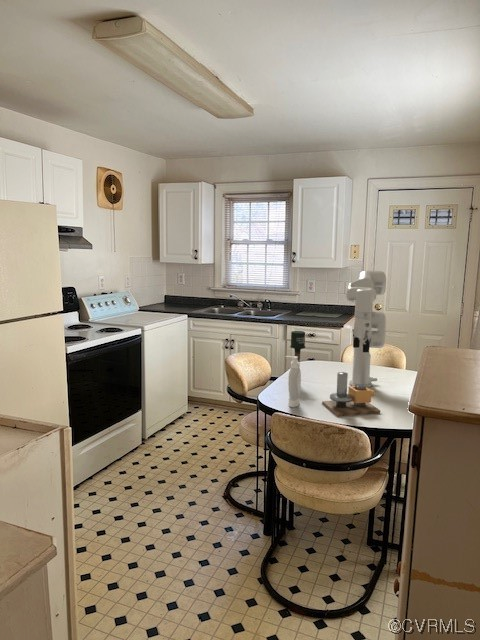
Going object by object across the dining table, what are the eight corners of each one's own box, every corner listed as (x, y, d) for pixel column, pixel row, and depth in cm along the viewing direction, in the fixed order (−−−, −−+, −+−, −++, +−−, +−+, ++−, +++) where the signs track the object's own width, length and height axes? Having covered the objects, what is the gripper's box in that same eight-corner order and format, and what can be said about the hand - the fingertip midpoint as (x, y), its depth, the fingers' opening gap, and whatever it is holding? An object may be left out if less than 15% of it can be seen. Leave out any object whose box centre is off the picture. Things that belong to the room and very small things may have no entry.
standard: (346, 402, 236) (348, 369, 233) (356, 409, 225) (358, 375, 223) (325, 403, 233) (327, 370, 231) (335, 411, 223) (336, 377, 220)
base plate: (362, 401, 242) (362, 398, 242) (380, 413, 225) (380, 410, 224) (322, 404, 237) (322, 401, 237) (337, 416, 220) (337, 413, 219)
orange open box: (369, 396, 237) (369, 385, 236) (377, 401, 229) (378, 389, 228) (348, 398, 234) (348, 386, 233) (355, 403, 226) (356, 391, 225)
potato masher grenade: (294, 386, 267) (296, 333, 262) (286, 382, 274) (287, 331, 270) (307, 384, 271) (308, 332, 266) (298, 380, 278) (300, 330, 273)
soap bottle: (287, 399, 244) (288, 353, 240) (302, 401, 241) (303, 354, 237) (280, 407, 232) (281, 358, 228) (295, 409, 229) (297, 360, 225)
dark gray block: (361, 403, 234) (362, 384, 232) (365, 406, 230) (366, 386, 228) (353, 404, 233) (354, 384, 231) (357, 406, 229) (358, 386, 227)
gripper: (379, 317, 220) (377, 353, 223) (361, 312, 236) (359, 345, 239) (364, 318, 218) (362, 354, 221) (347, 312, 235) (345, 346, 238)
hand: (360, 349), depth 230 cm, fingers open, 9 cm apart
